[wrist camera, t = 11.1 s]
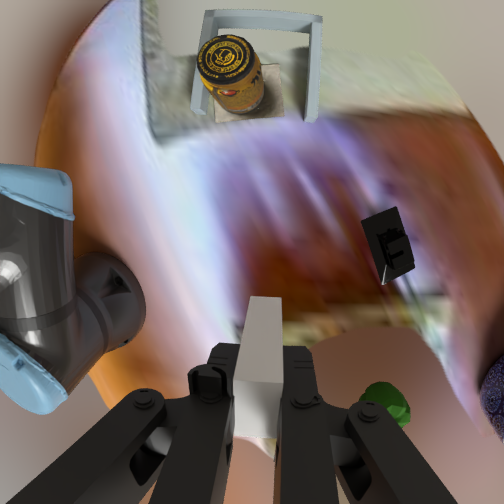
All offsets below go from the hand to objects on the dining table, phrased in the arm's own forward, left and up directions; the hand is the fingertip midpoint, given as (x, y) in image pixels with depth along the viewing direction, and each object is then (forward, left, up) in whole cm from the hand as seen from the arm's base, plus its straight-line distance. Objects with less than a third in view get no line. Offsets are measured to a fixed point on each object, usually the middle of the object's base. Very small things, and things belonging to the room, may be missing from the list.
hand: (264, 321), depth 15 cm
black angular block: (+16, 0, -24) cm, 29 cm away
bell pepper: (+21, -25, -24) cm, 40 cm away
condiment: (-5, +18, -24) cm, 30 cm away
